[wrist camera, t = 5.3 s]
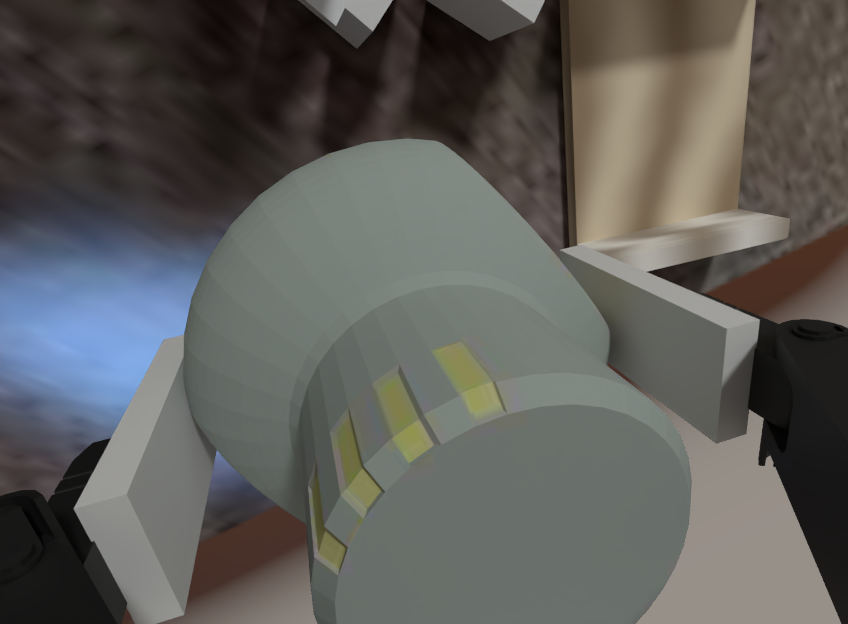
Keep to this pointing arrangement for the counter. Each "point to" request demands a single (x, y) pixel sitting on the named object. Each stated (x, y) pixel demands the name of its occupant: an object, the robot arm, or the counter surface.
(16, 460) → the counter surface
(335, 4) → the clip
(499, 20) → the clip
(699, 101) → the end holder
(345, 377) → the air freshener
